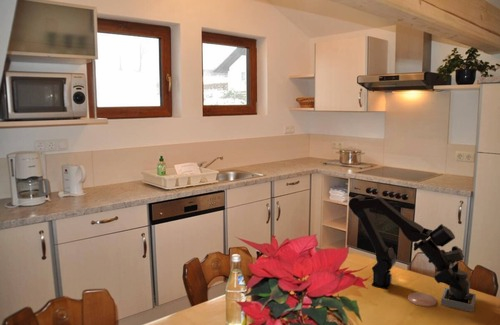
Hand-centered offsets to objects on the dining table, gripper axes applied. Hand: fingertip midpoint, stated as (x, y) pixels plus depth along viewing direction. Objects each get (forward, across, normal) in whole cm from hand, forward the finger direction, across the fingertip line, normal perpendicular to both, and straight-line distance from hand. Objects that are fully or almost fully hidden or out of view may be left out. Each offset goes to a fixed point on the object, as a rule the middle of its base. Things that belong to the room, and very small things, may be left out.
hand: (463, 287), depth 154 cm
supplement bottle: (+4, 0, +6) cm, 7 cm away
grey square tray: (+4, 0, +6) cm, 7 cm away
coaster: (-5, -5, +14) cm, 16 cm away
